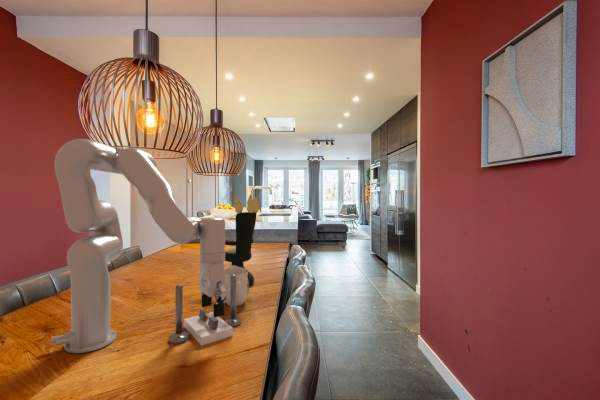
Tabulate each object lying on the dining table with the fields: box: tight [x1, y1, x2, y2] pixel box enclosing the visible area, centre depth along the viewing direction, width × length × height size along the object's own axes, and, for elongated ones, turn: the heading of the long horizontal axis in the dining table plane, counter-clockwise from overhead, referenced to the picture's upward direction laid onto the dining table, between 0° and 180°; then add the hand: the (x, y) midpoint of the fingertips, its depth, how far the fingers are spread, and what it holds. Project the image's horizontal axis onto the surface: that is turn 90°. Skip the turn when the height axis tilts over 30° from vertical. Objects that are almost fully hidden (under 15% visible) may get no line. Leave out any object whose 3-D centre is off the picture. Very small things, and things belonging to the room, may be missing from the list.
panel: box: [183, 311, 234, 347], centre depth 95 cm, size 10×16×3 cm, turn 39°
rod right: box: [224, 274, 242, 328], centre depth 100 cm, size 6×6×17 cm
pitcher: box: [224, 264, 250, 307], centre depth 118 cm, size 11×18×14 cm, turn 21°
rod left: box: [168, 283, 190, 345], centre depth 89 cm, size 6×6×17 cm
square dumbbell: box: [198, 308, 218, 329], centre depth 95 cm, size 2×12×2 cm, turn 39°
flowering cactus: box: [225, 193, 260, 287], centre depth 143 cm, size 19×22×45 cm
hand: (212, 311), depth 91 cm, fingers open, 9 cm apart
